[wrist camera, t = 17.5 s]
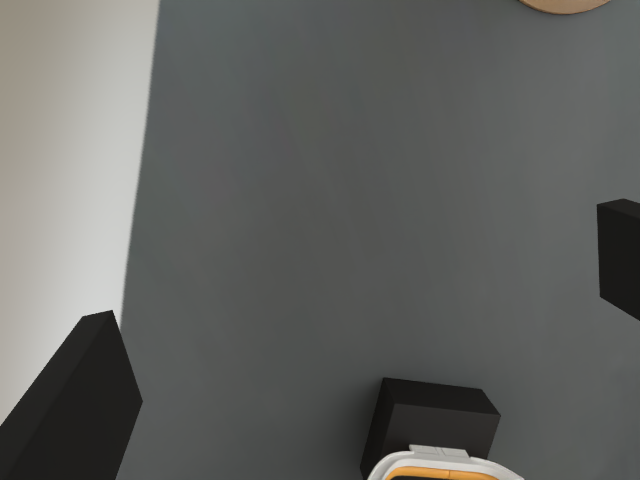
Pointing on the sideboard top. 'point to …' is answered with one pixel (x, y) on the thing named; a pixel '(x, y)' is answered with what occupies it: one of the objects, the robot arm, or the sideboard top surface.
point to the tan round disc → (563, 5)
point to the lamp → (431, 434)
